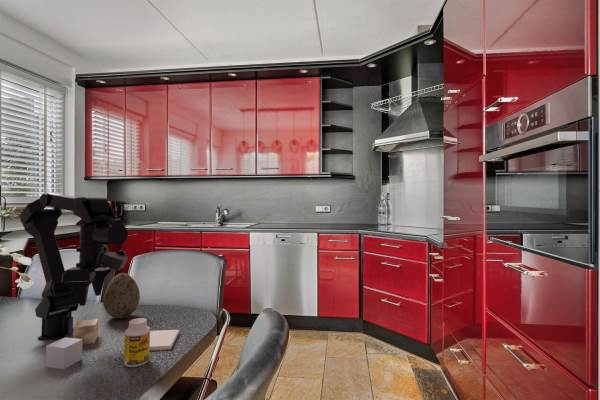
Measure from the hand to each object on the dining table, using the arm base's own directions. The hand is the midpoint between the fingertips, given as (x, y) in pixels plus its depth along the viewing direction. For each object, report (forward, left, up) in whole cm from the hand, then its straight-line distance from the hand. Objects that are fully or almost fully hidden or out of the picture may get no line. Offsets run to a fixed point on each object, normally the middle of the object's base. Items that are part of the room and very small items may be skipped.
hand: (90, 300), depth 88 cm
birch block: (-2, +3, -12) cm, 13 cm away
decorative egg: (+1, +21, -12) cm, 24 cm away
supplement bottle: (+16, -12, -12) cm, 23 cm away
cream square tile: (+17, 0, -12) cm, 21 cm away
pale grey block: (-1, -10, -12) cm, 16 cm away
